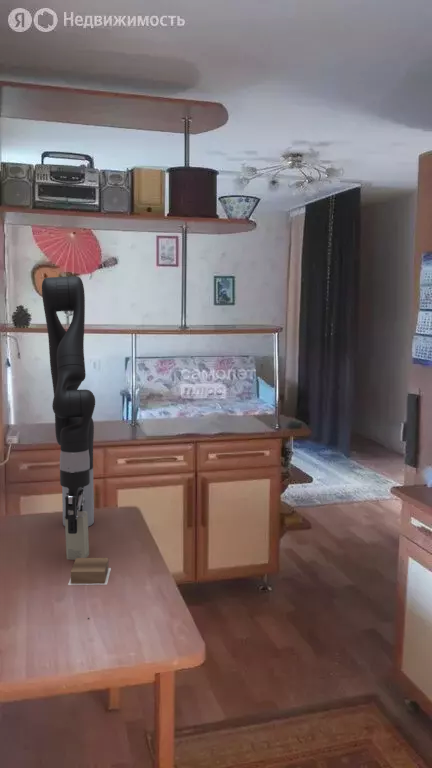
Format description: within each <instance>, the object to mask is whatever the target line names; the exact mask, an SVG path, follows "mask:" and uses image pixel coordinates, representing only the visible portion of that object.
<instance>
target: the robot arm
mask: <svg viewBox="0 0 432 768" xmlns="http://www.w3.org/2000/svg"><path fill="white" fill-rule="evenodd" d="M41 296H42V297H41V298H42V304H43V311H44V316H45V317H44V318H45V322H46V323H45V324H46V328H47V329H46V330H47V336H48V349H49V350H48V351H49V352H48V353H49V364H50V374H51V381H52V382H51V383H52V390H53V391H52V392H53V400H52V404H51V405H52V406H51V407H52V411H53V413H54V427H55V428H54V429H55V431H54V432H55V437H56V442H57V444H58V445H59V446H60V453H59V485H60V486H61V488H62V489H61V490H62V491H61V492H62V495H61V496H62V502H61V503H62V525H63V526H64V527H65V518H66V519H67V520H68V533H69V534H76V533H77V518H78V511H87V516H88V527H90V526H92V525H93V524H94V523H95V521H94V520H95V501H94V500H95V493H94V435H95V434H94V433H95V425H94V424H95V423H94V420H93V414H94V411H95V407H96V396H95V395H94V393H93V392H92V391H91V390H90V389H79V387H80V386H81V383H82V382H83V381H85V379H86V375H87V374H86V363H85V362H86V361H85V350H84V345H85V342H84V341H85V319H86V316H85V315H86V314H85V313H86V312H85V311H86V297H85V286H84V282H83V279H82V278H81V277H80V276H74V275H73V276H71V275H70V276H56V277H54V276H51V277H45V278H44V279H43V280H42V284H41ZM70 311H71V312H73V313H72V318H71V322H70V324H69V326H68V327H67V328H68V329H67V330H66V329H65V328H64V326H63V325H62V323H61V321H60V319H59V316H58V313H57V312H70ZM70 511H73V515H70ZM65 515H66V516H65ZM64 516H65V517H64Z"/></svg>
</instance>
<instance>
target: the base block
mask: <svg viewBox="0 0 432 768" xmlns="http://www.w3.org/2000/svg"><path fill="white" fill-rule="evenodd" d="M108 568H109V557H87V558H76V560H74V562H73V565H72V568H71V570H70V578H71V584H96V583H105V580H106V576H107V573H108Z"/></svg>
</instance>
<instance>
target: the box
mask: <svg viewBox="0 0 432 768" xmlns="http://www.w3.org/2000/svg"><path fill="white" fill-rule="evenodd" d="M70 515H73V511H70ZM65 516H66V515H65ZM65 516H64V517H65ZM64 528H65V529H64V532H65V533H64V534H65V551H66V552H65V553H66V554H65V555H66V560H74V561H75V560H76V558H89V555H90V543H89V526H88V516H87V511H78V518H77V533H76V534H69V533H68V520H67V519H66V518H65V526H64Z"/></svg>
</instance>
